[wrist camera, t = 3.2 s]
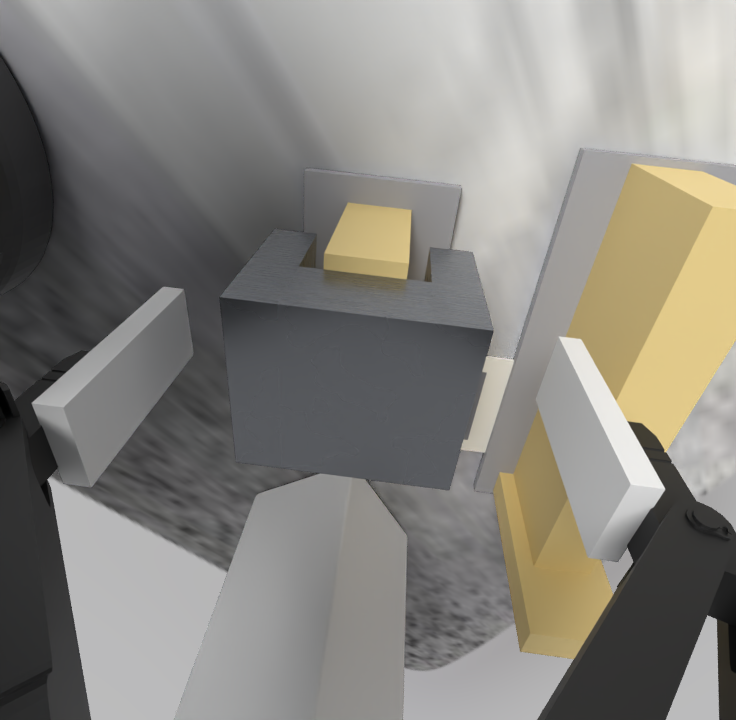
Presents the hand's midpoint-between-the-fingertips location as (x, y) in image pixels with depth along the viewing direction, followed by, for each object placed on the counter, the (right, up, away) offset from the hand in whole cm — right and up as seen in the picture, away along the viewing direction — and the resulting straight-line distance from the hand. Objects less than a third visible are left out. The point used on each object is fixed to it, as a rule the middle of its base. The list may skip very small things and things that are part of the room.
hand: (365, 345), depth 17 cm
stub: (0, +3, +4) cm, 5 cm away
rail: (+10, -1, +5) cm, 11 cm away
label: (+5, -3, +7) cm, 9 cm away
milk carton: (-2, -10, +13) cm, 17 cm away
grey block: (0, +1, +1) cm, 2 cm away
